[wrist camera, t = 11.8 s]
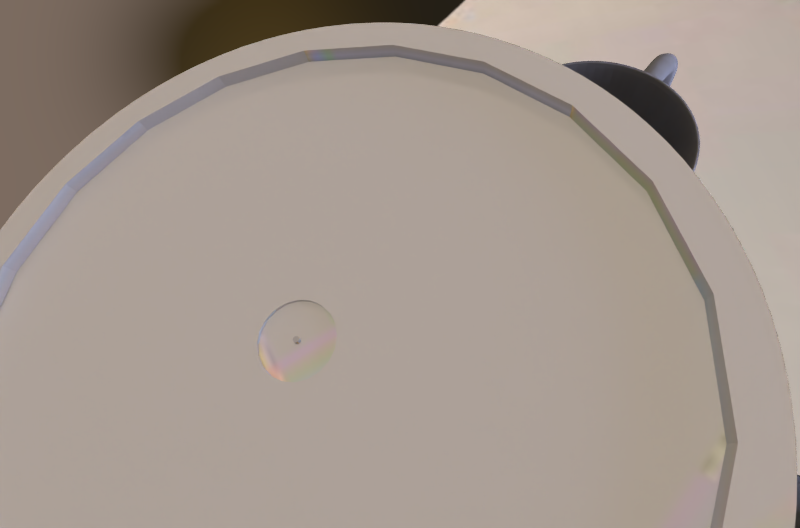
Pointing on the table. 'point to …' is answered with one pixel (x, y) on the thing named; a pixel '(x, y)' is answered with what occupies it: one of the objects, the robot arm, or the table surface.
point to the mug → (649, 99)
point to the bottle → (385, 306)
